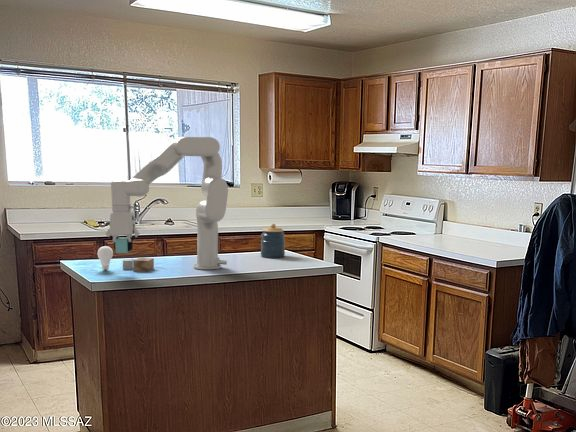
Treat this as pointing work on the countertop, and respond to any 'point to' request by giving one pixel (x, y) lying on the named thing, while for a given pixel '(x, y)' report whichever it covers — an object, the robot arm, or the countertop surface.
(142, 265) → the walnut block
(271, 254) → the canister
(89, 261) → the countertop surface
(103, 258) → the light bulb
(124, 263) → the grey cube
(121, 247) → the teal cube
